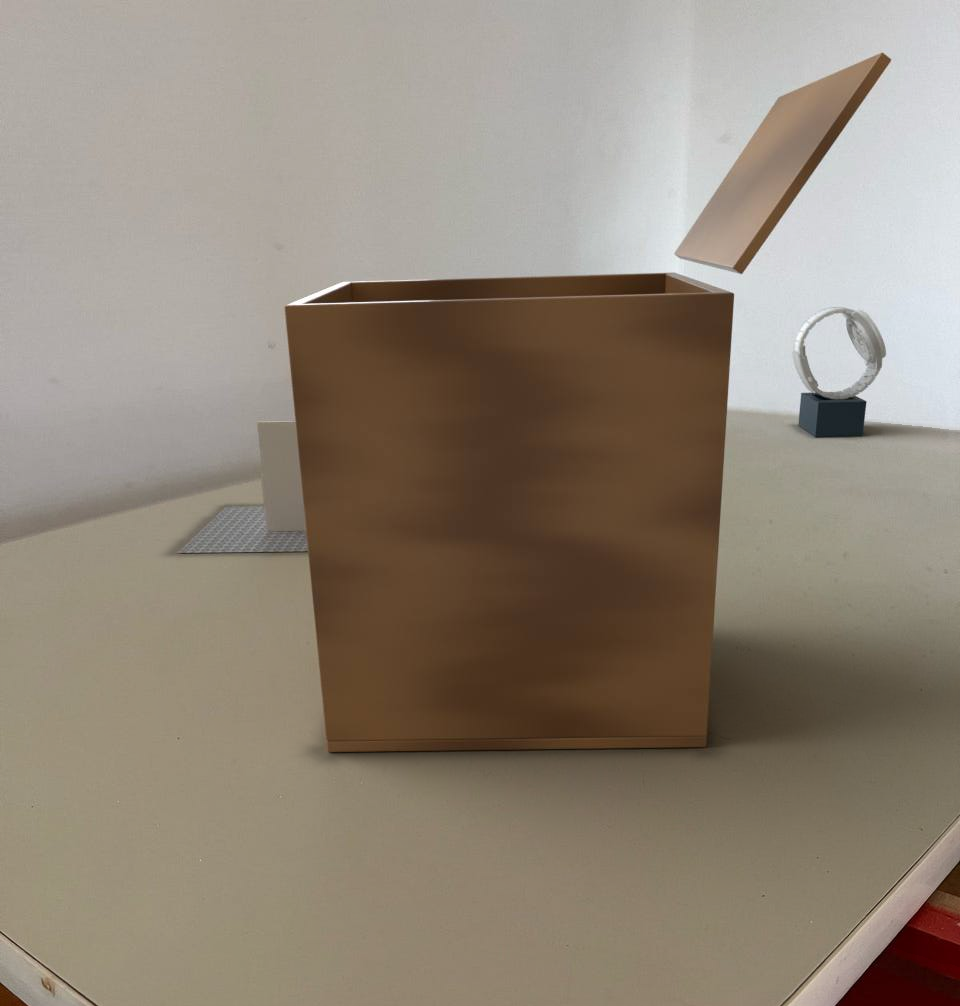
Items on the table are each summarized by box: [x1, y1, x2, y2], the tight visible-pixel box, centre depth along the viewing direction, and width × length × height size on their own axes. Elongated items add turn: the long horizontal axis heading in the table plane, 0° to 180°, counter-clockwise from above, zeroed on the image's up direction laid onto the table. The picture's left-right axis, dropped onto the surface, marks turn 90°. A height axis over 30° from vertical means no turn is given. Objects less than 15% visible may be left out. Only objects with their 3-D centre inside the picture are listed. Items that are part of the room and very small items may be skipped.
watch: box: [791, 306, 887, 438], centre depth 94 cm, size 6×8×11 cm
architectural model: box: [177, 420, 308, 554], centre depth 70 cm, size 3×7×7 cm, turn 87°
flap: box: [673, 52, 892, 275], centre depth 38 cm, size 7×13×1 cm
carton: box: [283, 272, 735, 753], centre depth 43 cm, size 15×13×17 cm
